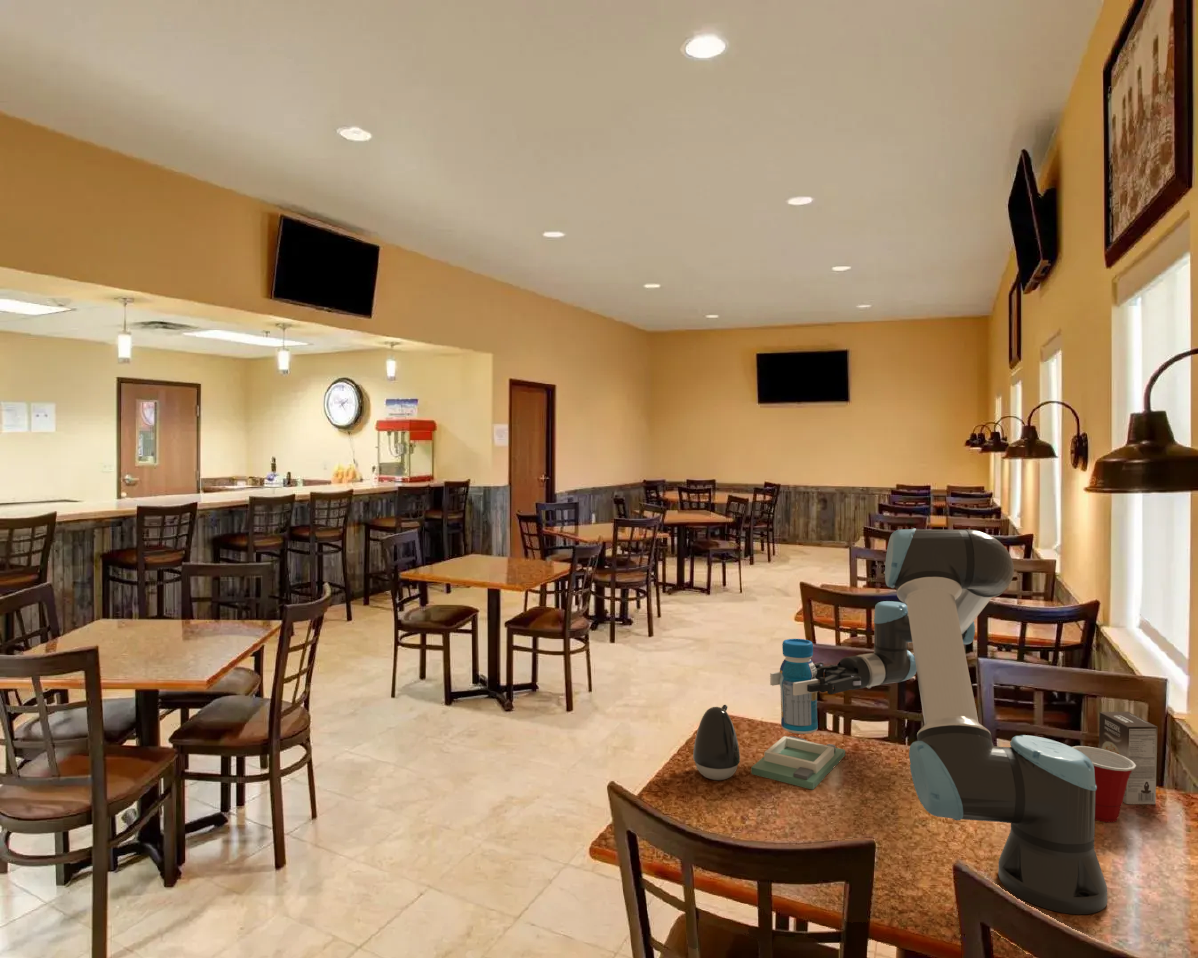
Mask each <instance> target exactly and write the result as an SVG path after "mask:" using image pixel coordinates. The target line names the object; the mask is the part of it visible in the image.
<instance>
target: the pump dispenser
mask: <svg viewBox="0 0 1198 958" xmlns="http://www.w3.org/2000/svg"><path fill="white" fill-rule="evenodd" d="M727 710H728V705H727V704H722V706H721V707H719V706H712V707H710V708H708V709H707V710H706V711H705V713H703V716H702V718H701V719H700V722H699V725H698V728H697V731H696V735H695V739H694V744H693V746H694V747H693V752H692V753H693V755H692V759H693V761H694V763H695V766H696V768H697V771H698V772H699V773H700V774H701V776H703V777H704V778H707V779H708V780H712V781H723V780H726V779H730V778H731V777H732V776H733V775H734V774H735V773H736V771H737V769H738V766H739V764H740V763H741V755H740V746H739V742H738V738H737V736H738V735H737V732H736V729H735V727H734V723H733V721H732V719H731V716H730V715H729V713H728V712H727Z"/></svg>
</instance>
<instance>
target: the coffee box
mask: <svg viewBox="0 0 1198 958" xmlns="http://www.w3.org/2000/svg"><path fill="white" fill-rule="evenodd" d="M1098 719H1099V721H1098V723H1099V725H1098V728H1099V730H1098V748H1099V749H1103V750H1107V751H1110V752H1114V753H1116V754H1119V755H1122V756H1124V757H1126V758H1128V759H1130V760H1131V761H1133V762H1134V763H1135V765H1136V767H1135V768H1134V770H1132V771H1131V774H1130V776H1129V779H1128V781H1127V786H1126V790H1125V794H1124V798H1123V802H1122V803H1124V804H1125V805H1156V801H1157V796H1156V795H1157V759H1158V758H1157V757H1158V755H1157V753H1158V726H1157V725H1155V724H1152V723H1151V722H1148V721H1147V720H1145V719H1143V718H1141V717H1139V716H1138V715H1135V714H1133V713H1132V712H1130V711H1099V717H1098Z"/></svg>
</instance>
